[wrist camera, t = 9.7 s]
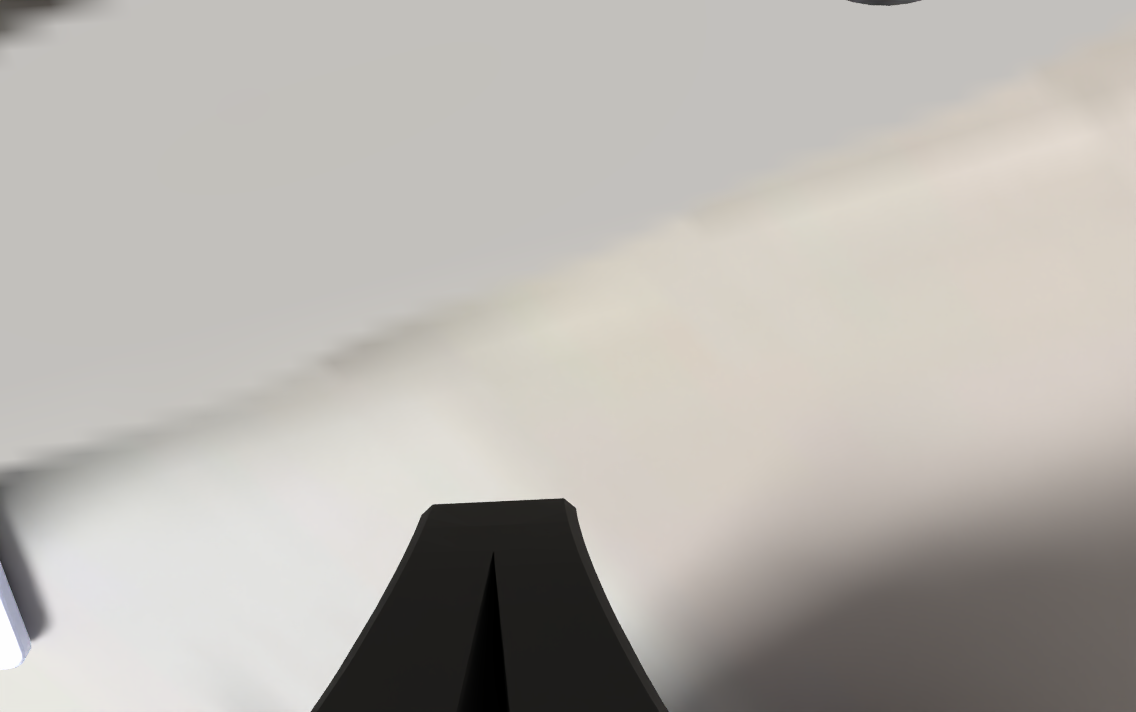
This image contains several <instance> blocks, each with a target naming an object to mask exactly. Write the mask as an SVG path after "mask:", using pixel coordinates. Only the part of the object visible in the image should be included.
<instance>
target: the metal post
mask: <svg viewBox="0 0 1136 712" xmlns="http://www.w3.org/2000/svg"><path fill="white" fill-rule="evenodd" d="M848 1H851V2H856V3H862V4H868V5H888V6H890V5H899V4H908V3H912V2H916V1H920V0H848Z"/></svg>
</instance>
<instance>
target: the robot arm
mask: <svg viewBox="0 0 1136 712" xmlns="http://www.w3.org/2000/svg"><path fill="white" fill-rule="evenodd" d="M30 649H31V641H30V638H29V636H28V633H27V630H26V628H25V625H24V622H23V620H22V617H21V615H20V612H19V609H18V607H17V604H16V601H15V599H14V596H13V594H12V591H11V588H10V586H9V583H8V581H7V578H6V575H5V573H4V570H3V567H2V565H1V562H0V669H11V668H15V667H18V666H19V665H21V664H22V663H23V662H24V660H25V658H26V656H27V655H28V653H29V651H30ZM311 712H669V711H668V710H667V708H666V707H665V705H664V703H663V702H662V700H661V698H660V697H659V695H658V693H657V692H656V690H655V688H654V686H653V685H652V683H651V681H650V679H649V678H648V676H647V674H646V673H645V671H644V669H643V667H642V665H641V663H640V661H639V660H638V658H637V656H636V654H635V652H634V650H633V648H632V646H631V644H630V643H629V641H628V639H627V637H626V635H625V633H624V631H623V629H622V628H621V626H620V624H619V622H618V620H617V618H616V616H615V614H614V612H613V610H612V608H611V605H610V603H609V601H608V599H607V597H606V595H605V592H604V590H603V588H602V586H601V583H600V581H599V579H598V576H597V574H596V572H595V569H594V567H593V564H592V562H591V559H590V557H589V554H588V551H587V548H586V546H585V543H584V540H583V537H582V533H581V529H580V526H579V522H578V518H577V512H576V508H575V507H574V506H573V505H571V504H570V503H569V502H568V501H566V500H565V499H564V498H562V499H540V500H519V501H498V502H477V503H456V504H435V505H432V506H431V507H430V508H429V509H428V510H427V511H425V512H424V513H423V514H422V516H421V518H420V520H419V523H418V525H417V528H416V530H415V532H414V535H413V537H412V539H411V541H410V543H409V545H408V548H407V550H406V552H405V554H404V556H403V558H402V560H401V562H400V564H399V566H398V568H397V570H396V572H395V574H394V575H393V577H392V579H391V581H390V583H389V585H388V587H387V588H386V590H385V592H384V594H383V596H382V598H381V599H380V601H379V603H378V605H377V607H376V609H375V610H374V612H373V614H372V615H371V617H370V619H369V620H368V622H367V624H366V625H365V627H364V629H363V630H362V632H361V634H360V635H359V637H358V639H357V640H356V642H355V644H354V645H353V647H352V649H351V650H350V652H349V654H348V655H347V657H346V659H345V660H344V662H343V664H342V665H341V667H340V669H339V670H338V672H337V673H336V675H335V676H334V678H333V680H332V681H331V683H330V684H329V686H328V687H327V689H326V690H325V692H324V693H323V695H322V696H321V697H320V699H319V700H318V702H317V703H316V705H315V706H314V708H313V709H312V711H311Z"/></svg>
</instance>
